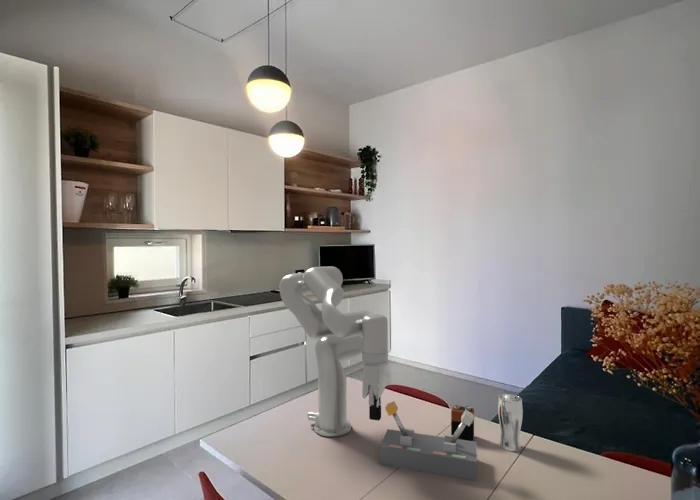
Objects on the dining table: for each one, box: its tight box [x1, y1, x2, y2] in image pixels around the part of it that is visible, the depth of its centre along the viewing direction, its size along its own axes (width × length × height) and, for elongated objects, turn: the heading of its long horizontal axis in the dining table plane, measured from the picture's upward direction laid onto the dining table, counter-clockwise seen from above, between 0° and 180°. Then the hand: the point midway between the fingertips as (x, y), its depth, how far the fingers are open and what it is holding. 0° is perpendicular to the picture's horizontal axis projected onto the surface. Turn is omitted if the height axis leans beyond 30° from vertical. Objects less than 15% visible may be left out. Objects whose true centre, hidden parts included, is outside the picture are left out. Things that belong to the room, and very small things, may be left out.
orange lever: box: [384, 400, 409, 437], centre depth 113 cm, size 2×3×11 cm
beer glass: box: [497, 393, 524, 453], centre depth 119 cm, size 7×7×15 cm
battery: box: [450, 404, 475, 441], centre depth 125 cm, size 4×7×10 cm, turn 69°
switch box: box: [378, 428, 478, 482], centre depth 111 cm, size 26×11×7 cm, turn 73°
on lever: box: [449, 410, 475, 443], centre depth 108 cm, size 2×3×11 cm
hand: (375, 418), depth 115 cm, fingers closed
